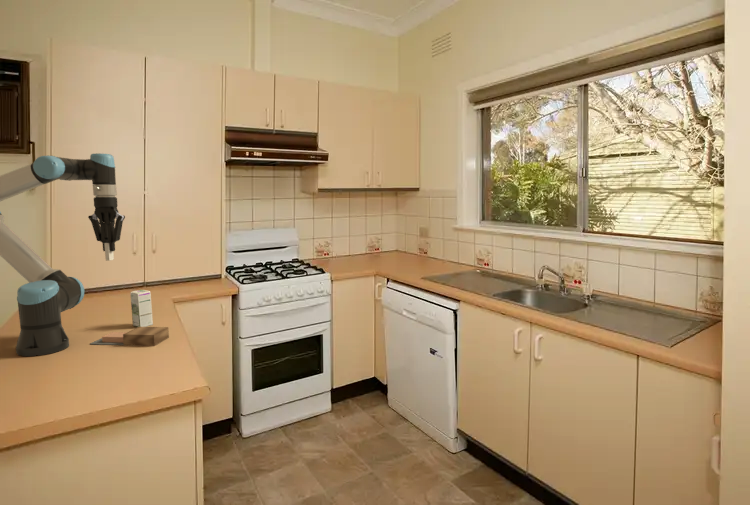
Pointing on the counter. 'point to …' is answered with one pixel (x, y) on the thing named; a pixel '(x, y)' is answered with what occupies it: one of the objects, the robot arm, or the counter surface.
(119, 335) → the salmon orange flat block
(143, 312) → the syrup box
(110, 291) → the counter surface
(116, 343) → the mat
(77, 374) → the counter surface
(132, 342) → the brown wooden flat block
